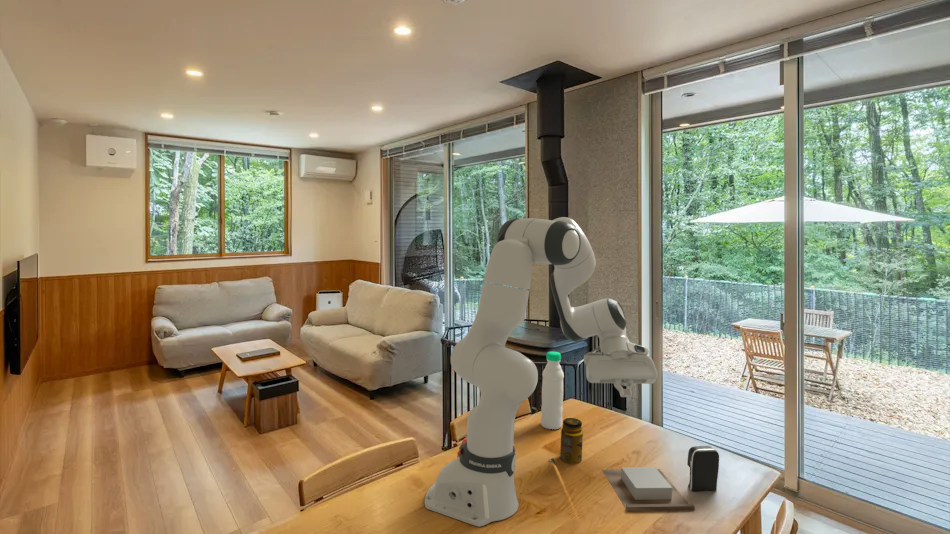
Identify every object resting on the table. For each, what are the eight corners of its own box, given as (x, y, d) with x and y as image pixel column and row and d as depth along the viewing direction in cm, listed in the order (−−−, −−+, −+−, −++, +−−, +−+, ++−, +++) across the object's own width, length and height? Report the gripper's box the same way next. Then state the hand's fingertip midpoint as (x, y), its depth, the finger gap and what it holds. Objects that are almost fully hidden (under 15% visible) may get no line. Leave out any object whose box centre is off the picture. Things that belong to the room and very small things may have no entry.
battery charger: (708, 485, 126) (711, 443, 125) (717, 493, 122) (720, 450, 121) (683, 486, 125) (686, 444, 124) (691, 495, 121) (694, 451, 120)
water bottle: (550, 419, 166) (552, 348, 164) (566, 426, 161) (569, 353, 158) (536, 425, 162) (538, 352, 159) (552, 432, 156) (554, 356, 154)
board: (601, 472, 131) (602, 466, 131) (659, 471, 132) (659, 465, 132) (627, 514, 112) (627, 507, 112) (694, 513, 113) (694, 506, 113)
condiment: (588, 463, 136) (589, 422, 135) (566, 471, 131) (568, 429, 130) (569, 453, 142) (571, 413, 141) (548, 460, 138) (549, 420, 136)
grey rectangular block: (620, 478, 127) (635, 500, 117) (621, 467, 127) (636, 488, 117) (654, 478, 127) (671, 499, 117) (654, 466, 127) (672, 487, 117)
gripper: (584, 346, 141) (593, 390, 132) (653, 348, 142) (665, 391, 133) (579, 357, 146) (587, 400, 137) (645, 358, 147) (657, 401, 138)
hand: (626, 396), depth 135 cm, fingers closed
